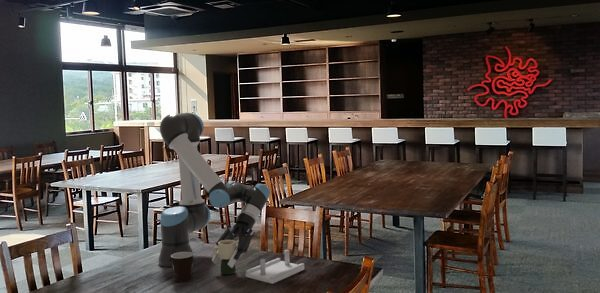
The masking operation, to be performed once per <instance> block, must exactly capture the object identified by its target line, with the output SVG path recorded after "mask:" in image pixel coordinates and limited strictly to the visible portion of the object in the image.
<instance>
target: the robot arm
mask: <svg viewBox="0 0 600 293" xmlns="http://www.w3.org/2000/svg"><path fill="white" fill-rule="evenodd" d="M204 128H205V125H204V122H203V120H202V118H201V117H200V116H199V115H198V114H196V113H193V112H181V113H169V114H168V115H166V116H165V117H163V119H162V120H161V122H160V126H159V133H160V136H161V137H162V139H163V142H164V143H165V144H166V146H167V147H168V148H169V149H170V150H174V152H175V154H177V156H178V165H179V178H180V180H179V181H180V189H181V200H180V201H179V203H178V206H173V207H169V208H165V209H164V210H163V211H162V212H161V214H160V219H159V222H160V223H159V224H160V232H161V233H160V234H161V248H160V252H159V256H158V265H159V266H161V267H164V268H165V267H166V268H173V265H172V259H171V255H172V254H175V253H178V252H191V253H193V262H194V261H195V255H194V252H193V249H192V247H191V244H190V234H192V233H194V232H197V231H201V230H202V229H203V228H205V227H206V226H207V225H208V224H209V223H210V220H211V211H210V208H209V207H208V205H207V204H206V201H205V199H203V198H202V194H201V193H202V192H201V186H202V187H203V188H204V189H205V191H206V192H207V193H208V197H209V198H208V200H209V203H210V205H211V206H212V207H214V208H216V209H217V208H218V209H219V208H224V207H226V206H229V205H231V204H234V203H237V202H240V203H244V205H243V207H242V209H241V211H240V212H239V214H238V216H237V218H236V221H235V224H234V225H230V224H229V225H227V227H226V229H225V231H224V232H223V233H222V234H221V236H220V237H219V238H218V240H217V241H216V242H215V245H216V247H218V242H219V241H223V240H234V239H237V238H238V242H237V246H238V248H236V250H235V251H234V253H233V255H232V257H231V259H230V260H229V262H228V265H229V266H230V267H231V268H233V266H234V264H235V265H236V263H237V261H238V260H239V259H240V257H241V255H242V254H246V253H247V252H248V250H249V247H250V244H251V241H252V238H253V236H254V235H255V233H256V232H255V231H254V230H253V228H254V225H255V224H256V221H257V220H258V218H259V216H260V214H261V213H262V210H264V207H265V205H266V204H267V202H268V200H269V198H270V196H271V189H270V188H269V187H268V186H267V185H265V184H263V183H257V184H255V186H254V187H253V186H249V185H246V184H243V183H241V182H238V181H234V180H229V181H227V183H226V184H225V183H224V181H222V179H221V178H220V177H219V175H218V174H217V173H216V172H215V170H214V169H213V168H212V167H211V166H210V164H209V163H208V162H207V160H206V159H205V158H204V157H203V155H202V154H201V153H200V152H199V150H198V146H199V144H200V143H201V137H200V136H201V135H202V134H203V133H204ZM216 252H218V249H216ZM219 260H221V259H220V258H219V255H215V254H213V257H212V259H211V262H212V263H214V264H216V265H217V264H218V262H219Z"/></svg>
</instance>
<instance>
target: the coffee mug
mask: <svg viewBox="0 0 600 293" xmlns="http://www.w3.org/2000/svg"><path fill="white" fill-rule="evenodd" d="M193 255H194V252H193V253H191V252H178V253H175V254H172V255H171V259H172V265H173V267H172V269H173V275H174V281H175V283H179V282H180V283H179V284H182V283H188V282H191V281H192V278H193V264H194V261H193Z"/></svg>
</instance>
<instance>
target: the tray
mask: <svg viewBox="0 0 600 293" xmlns="http://www.w3.org/2000/svg"><path fill="white" fill-rule="evenodd" d="M283 252H284V260H281V257H276V258H275V259H272V260H269V261H267V262H266V259H265V258H261V259H259V265H256V266H255V267H252V268H248V269H247V270H245V277H246V278H249V279H253V280H256V281H261V282H264V283H269V284H276V283H277V282H279V281H282V280H284V279H287V278H289V277H291V276H293V275H295V274H298V273H299V272H302V271H304V270H305V262H304V263H303V262H302V263H299V264H298V263H292V262H290V249H284V251H283Z"/></svg>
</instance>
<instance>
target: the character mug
mask: <svg viewBox="0 0 600 293" xmlns="http://www.w3.org/2000/svg"><path fill="white" fill-rule="evenodd" d="M236 244H237V242H236V240H234V239H233V240H223V241H219V242H218V246H213V255H219V258H220V259H219V260H220V270H219V272H220V273H221V274H223V275H231V274H233V273H236V272H237V270H236V263H235V264H234V266H233V268H231V267H230V266H229V265H228V262H229V260H230V259H231V257H232V255H233V253H234V251H235V250H237V248H238V245H236ZM217 249H218V252H216V250H217Z"/></svg>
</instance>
